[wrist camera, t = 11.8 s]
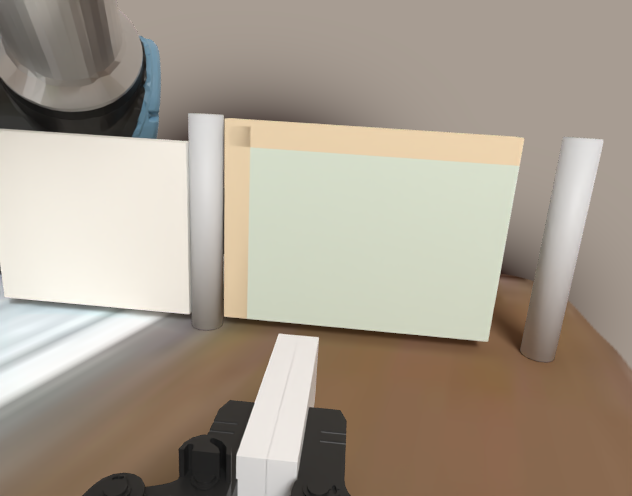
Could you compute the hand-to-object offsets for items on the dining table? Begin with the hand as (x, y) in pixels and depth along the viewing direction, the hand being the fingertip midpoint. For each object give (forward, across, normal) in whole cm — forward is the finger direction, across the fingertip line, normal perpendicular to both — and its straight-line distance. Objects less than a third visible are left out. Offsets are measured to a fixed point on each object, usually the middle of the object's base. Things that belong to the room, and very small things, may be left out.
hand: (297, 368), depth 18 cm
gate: (+18, +3, -7) cm, 20 cm away
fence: (+19, -4, -8) cm, 21 cm away
